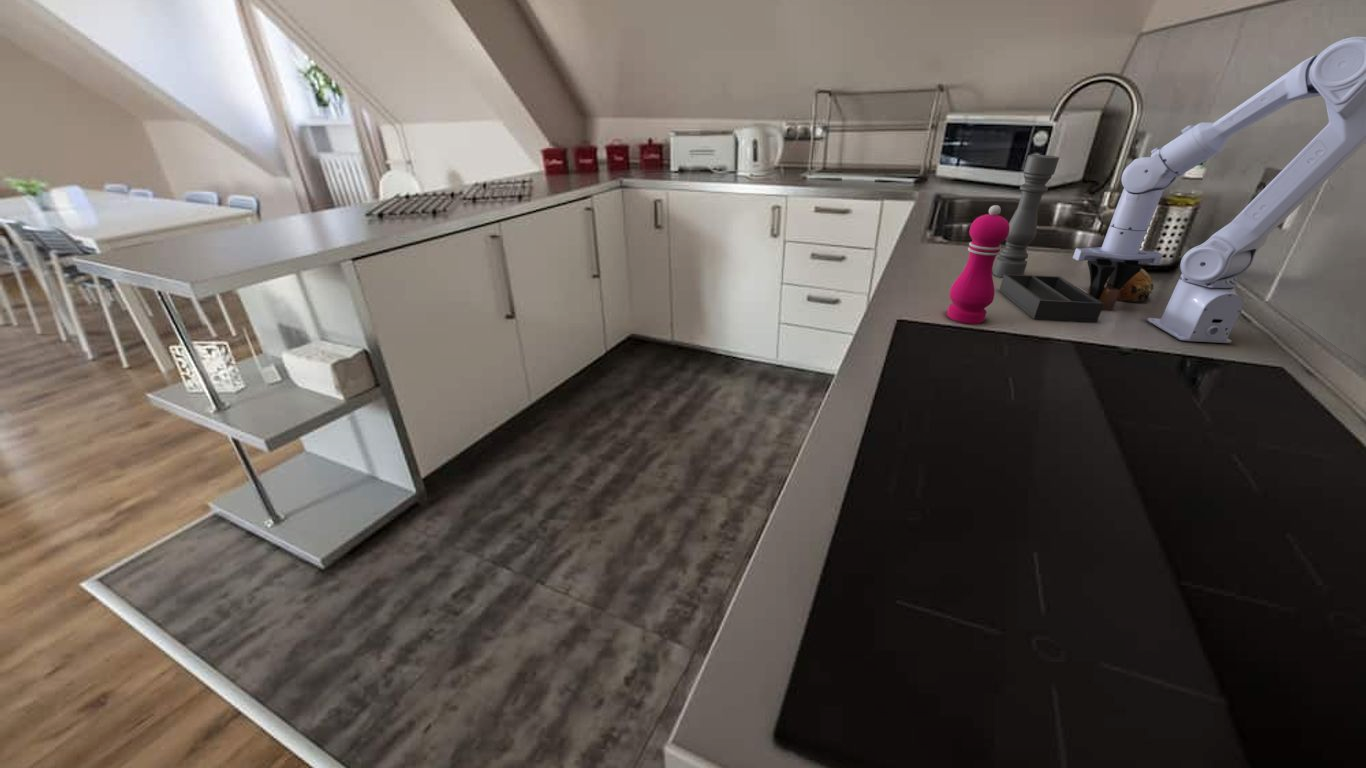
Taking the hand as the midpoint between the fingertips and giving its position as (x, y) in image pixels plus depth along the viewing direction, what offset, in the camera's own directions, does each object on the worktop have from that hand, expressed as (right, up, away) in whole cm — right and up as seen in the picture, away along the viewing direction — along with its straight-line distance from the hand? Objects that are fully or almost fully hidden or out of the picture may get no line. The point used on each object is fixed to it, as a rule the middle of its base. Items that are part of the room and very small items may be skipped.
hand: (1100, 297), depth 109 cm
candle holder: (-8, +8, +17) cm, 21 cm away
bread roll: (+9, +1, +6) cm, 11 cm away
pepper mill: (-30, -5, -7) cm, 31 cm away
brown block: (0, +1, +4) cm, 4 cm away
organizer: (-11, -1, 0) cm, 11 cm away
